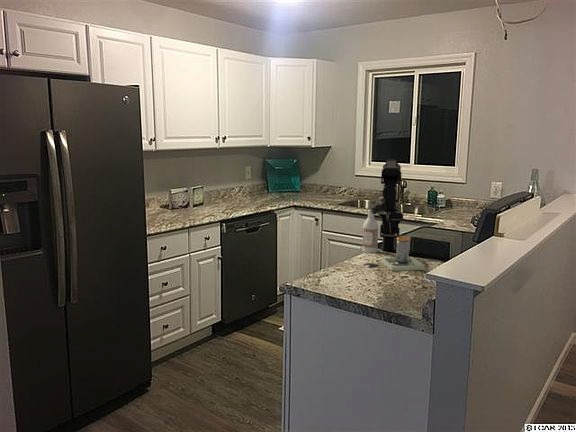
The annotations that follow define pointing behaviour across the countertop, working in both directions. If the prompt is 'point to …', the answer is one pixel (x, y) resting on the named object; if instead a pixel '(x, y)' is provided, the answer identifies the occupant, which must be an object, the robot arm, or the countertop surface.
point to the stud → (371, 265)
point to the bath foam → (370, 234)
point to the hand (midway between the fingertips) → (388, 232)
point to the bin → (392, 268)
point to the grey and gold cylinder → (402, 251)
